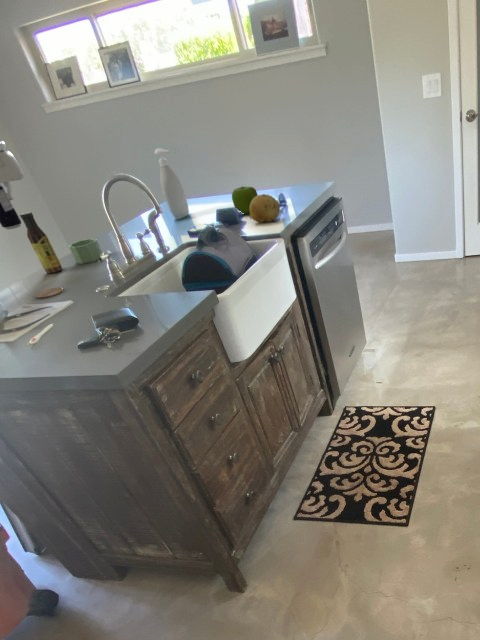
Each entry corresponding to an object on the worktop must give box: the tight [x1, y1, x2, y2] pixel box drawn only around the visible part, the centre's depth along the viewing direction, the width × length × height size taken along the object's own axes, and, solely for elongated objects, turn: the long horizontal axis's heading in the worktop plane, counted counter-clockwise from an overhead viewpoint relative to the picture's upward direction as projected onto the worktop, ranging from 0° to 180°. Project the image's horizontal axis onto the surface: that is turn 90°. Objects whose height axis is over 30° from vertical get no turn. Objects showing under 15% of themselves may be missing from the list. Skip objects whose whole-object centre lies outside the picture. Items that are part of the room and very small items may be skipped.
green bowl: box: [68, 238, 103, 265], centre depth 203 cm, size 10×10×6 cm
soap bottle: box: [154, 147, 190, 220], centre depth 234 cm, size 14×8×27 cm, turn 169°
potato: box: [249, 193, 281, 223], centre depth 212 cm, size 10×12×10 cm
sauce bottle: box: [19, 211, 63, 275], centre depth 191 cm, size 6×6×20 cm
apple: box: [231, 185, 259, 216], centre depth 228 cm, size 11×11×11 cm
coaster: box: [35, 286, 65, 299], centre depth 177 cm, size 9×9×1 cm
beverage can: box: [0, 184, 22, 230], centre depth 159 cm, size 6×6×12 cm
